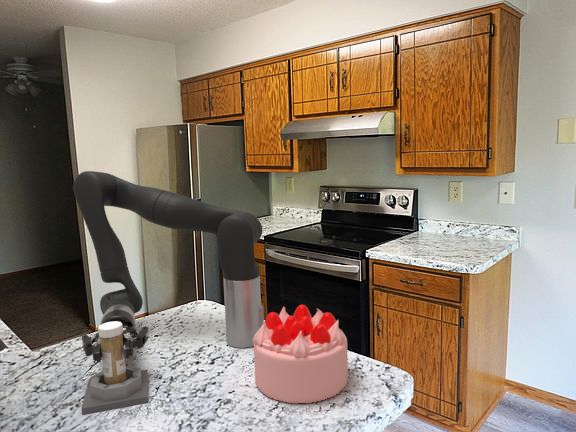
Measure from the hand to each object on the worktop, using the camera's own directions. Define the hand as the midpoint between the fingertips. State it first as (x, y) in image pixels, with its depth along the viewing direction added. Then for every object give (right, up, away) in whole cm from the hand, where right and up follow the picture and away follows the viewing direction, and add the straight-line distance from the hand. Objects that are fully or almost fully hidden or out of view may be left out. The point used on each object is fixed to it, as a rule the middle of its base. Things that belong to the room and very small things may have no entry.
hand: (112, 355), depth 88 cm
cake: (+37, -8, +7) cm, 39 cm away
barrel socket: (0, -9, +4) cm, 10 cm away
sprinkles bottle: (-1, -8, +4) cm, 9 cm away
